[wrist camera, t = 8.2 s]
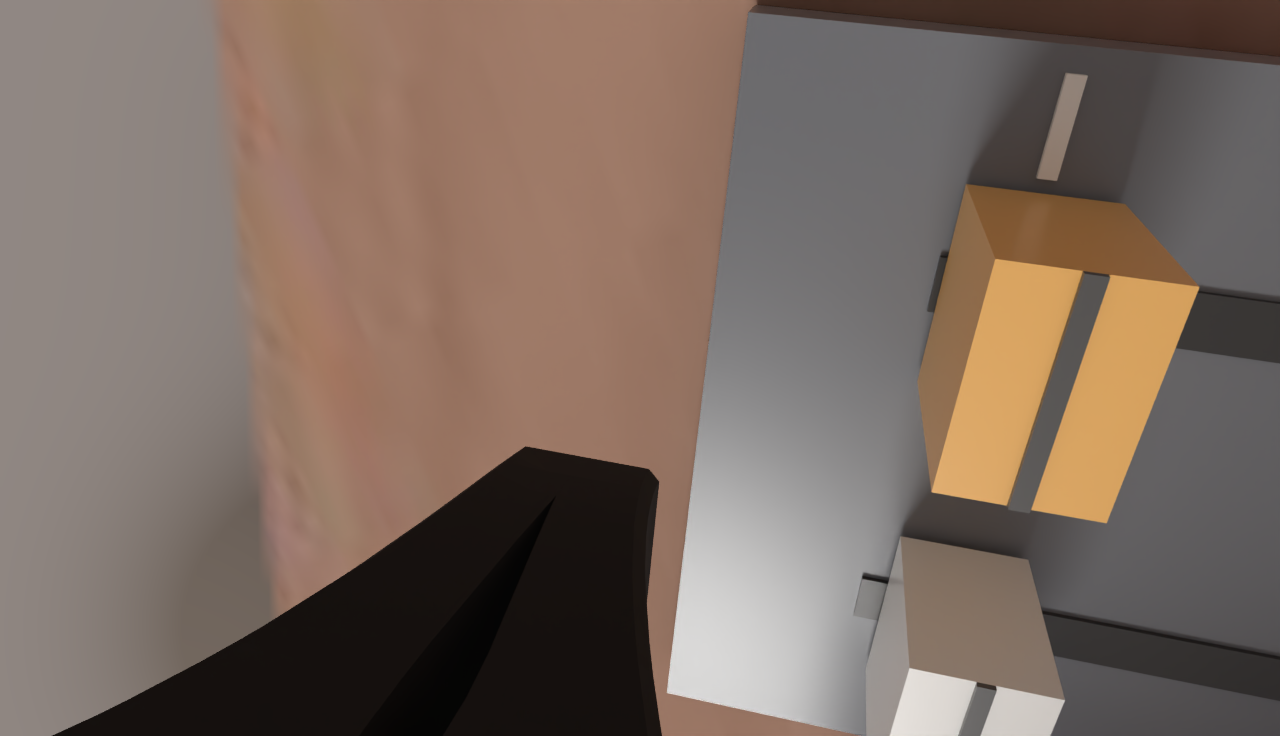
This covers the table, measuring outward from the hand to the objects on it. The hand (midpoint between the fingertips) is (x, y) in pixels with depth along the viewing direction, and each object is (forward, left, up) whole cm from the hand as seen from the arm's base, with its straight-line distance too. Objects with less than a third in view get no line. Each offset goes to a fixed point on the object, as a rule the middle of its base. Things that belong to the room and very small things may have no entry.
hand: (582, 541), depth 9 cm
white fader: (-7, -6, -8) cm, 12 cm away
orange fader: (0, -5, -8) cm, 10 cm away
